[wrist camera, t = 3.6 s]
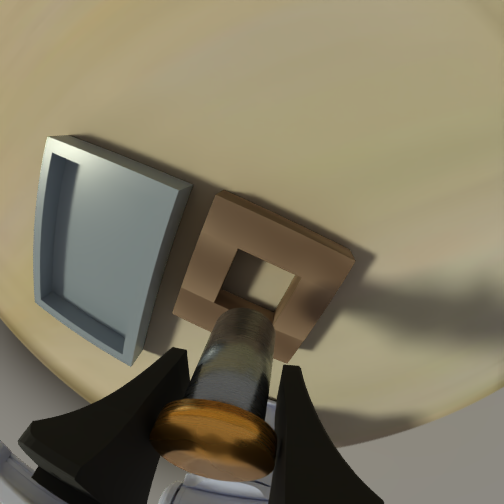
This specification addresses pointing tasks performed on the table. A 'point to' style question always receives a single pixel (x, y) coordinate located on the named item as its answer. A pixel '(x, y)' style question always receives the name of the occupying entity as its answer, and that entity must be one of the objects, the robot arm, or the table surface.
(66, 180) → the tray
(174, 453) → the pin
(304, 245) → the holder
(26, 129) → the table surface
